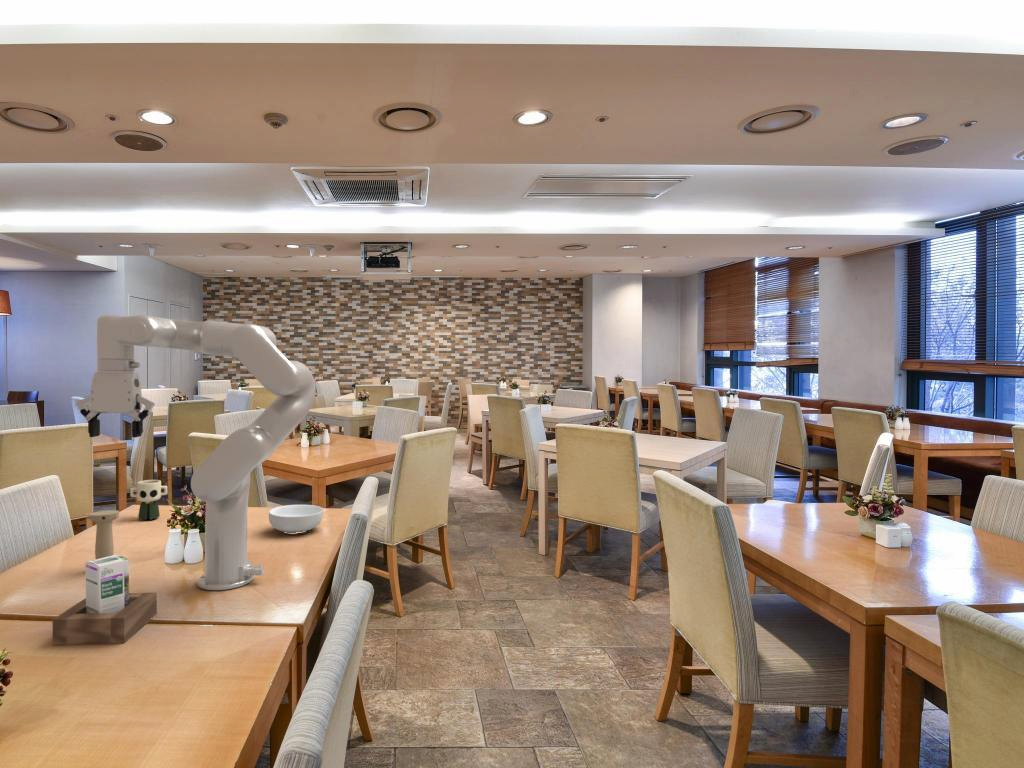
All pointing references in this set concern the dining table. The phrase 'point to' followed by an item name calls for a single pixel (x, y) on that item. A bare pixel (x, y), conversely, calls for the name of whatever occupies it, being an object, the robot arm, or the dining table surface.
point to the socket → (104, 622)
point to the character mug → (148, 498)
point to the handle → (104, 532)
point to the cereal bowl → (295, 517)
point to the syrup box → (107, 584)
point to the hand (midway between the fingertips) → (115, 436)
